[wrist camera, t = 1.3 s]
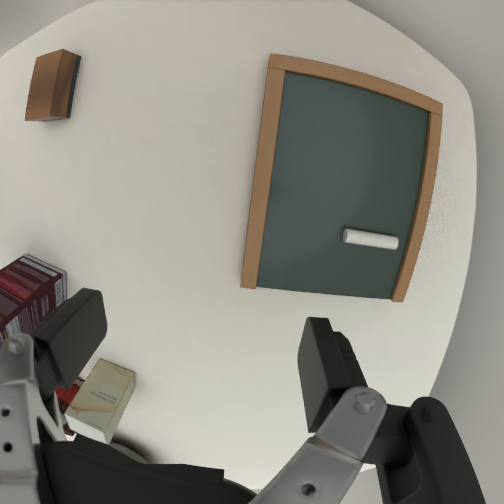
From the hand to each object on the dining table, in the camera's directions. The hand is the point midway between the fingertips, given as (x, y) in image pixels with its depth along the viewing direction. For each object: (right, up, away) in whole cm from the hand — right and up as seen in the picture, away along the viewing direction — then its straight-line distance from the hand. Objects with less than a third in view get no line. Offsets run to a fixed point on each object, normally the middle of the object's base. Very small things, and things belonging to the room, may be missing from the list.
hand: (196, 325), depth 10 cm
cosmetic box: (-19, -16, +27) cm, 36 cm away
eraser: (-21, +22, +13) cm, 33 cm away
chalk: (+14, +4, +17) cm, 23 cm away
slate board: (+12, +9, +17) cm, 23 cm away
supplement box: (-27, -1, +21) cm, 34 cm away
